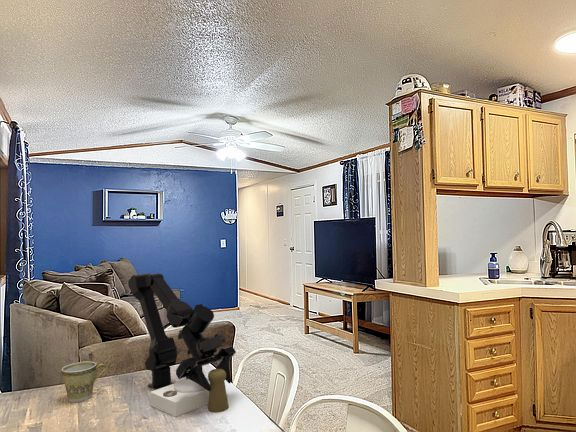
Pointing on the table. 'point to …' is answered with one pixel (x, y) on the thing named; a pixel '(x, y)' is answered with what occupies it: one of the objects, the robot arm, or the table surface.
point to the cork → (217, 391)
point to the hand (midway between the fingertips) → (220, 386)
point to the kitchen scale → (179, 397)
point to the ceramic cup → (80, 380)
